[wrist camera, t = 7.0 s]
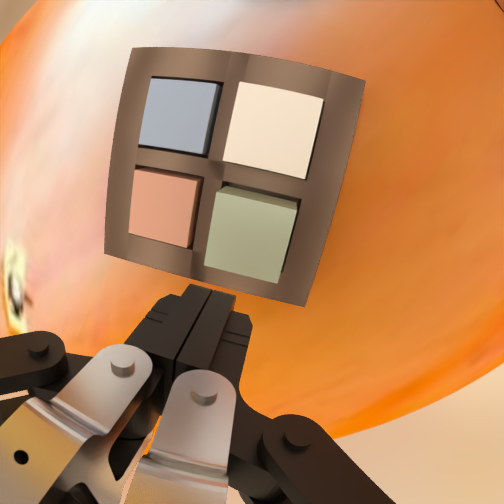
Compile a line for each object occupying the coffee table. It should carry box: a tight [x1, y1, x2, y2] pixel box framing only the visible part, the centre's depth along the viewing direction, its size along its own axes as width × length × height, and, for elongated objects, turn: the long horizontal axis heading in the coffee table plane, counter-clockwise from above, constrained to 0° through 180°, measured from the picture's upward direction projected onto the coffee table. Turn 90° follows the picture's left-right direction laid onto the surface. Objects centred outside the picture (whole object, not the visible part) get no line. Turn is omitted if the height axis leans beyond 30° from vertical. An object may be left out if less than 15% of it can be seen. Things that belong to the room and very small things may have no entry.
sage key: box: [204, 186, 297, 284], centre depth 19 cm, size 5×5×2 cm
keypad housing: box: [104, 47, 365, 307], centre depth 20 cm, size 16×16×4 cm
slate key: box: [139, 79, 223, 154], centre depth 18 cm, size 5×5×2 cm
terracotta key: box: [129, 167, 205, 248], centre depth 21 cm, size 5×5×2 cm
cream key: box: [223, 82, 323, 179], centre depth 16 cm, size 5×5×2 cm
